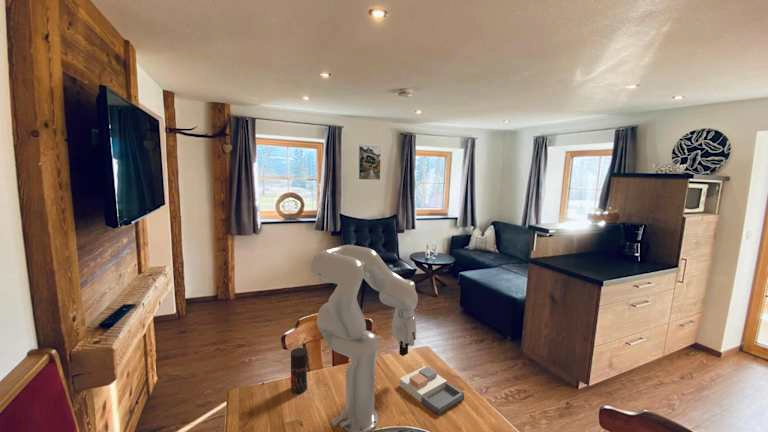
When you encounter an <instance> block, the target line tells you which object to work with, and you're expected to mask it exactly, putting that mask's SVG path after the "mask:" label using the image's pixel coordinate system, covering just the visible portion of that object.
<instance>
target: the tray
mask: <svg viewBox="0 0 768 432" xmlns="http://www.w3.org/2000/svg"><path fill="white" fill-rule="evenodd" d="M464 400H465V392H463V391H462V390H460V389H458V388H457V387H456V386H454V385H453V384H451V383H449V382H448V381H447V383H446V388H444V389H443V390H441V391H439V392H437V393H436V394H434V395H432V396H430V397H429V398H427V397H425V396H422V402H421V404H422V405H424V406H425V407H426V408H428V409H429V410H430V411H432V412H433V413H434V414H435V415H437V416H440V415H441V414H443V413H445V412H446V411H448V410H449V409H451V408H453V407H454V406H456V405H458V404H459V403H461V402H462V401H464Z"/></svg>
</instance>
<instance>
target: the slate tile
mask: <svg viewBox="0 0 768 432" xmlns="http://www.w3.org/2000/svg"><path fill="white" fill-rule="evenodd" d="M419 373H420V374H421V375H423V376H424V377H426V378H427V379H428V381H430V380H432V379H434V378H436V377H437V375H438V372H437V371H435V370H434V369H432V368H431V367H429V366H425V368H423V369H421V370H419Z"/></svg>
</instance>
